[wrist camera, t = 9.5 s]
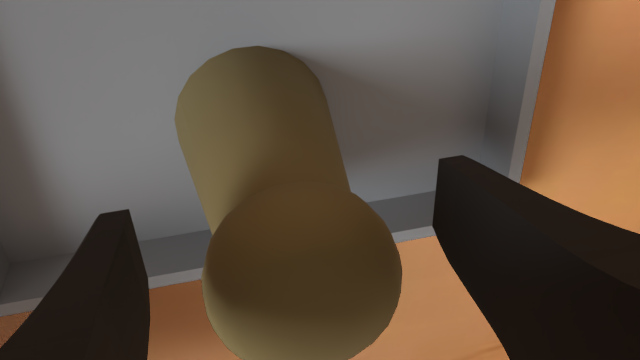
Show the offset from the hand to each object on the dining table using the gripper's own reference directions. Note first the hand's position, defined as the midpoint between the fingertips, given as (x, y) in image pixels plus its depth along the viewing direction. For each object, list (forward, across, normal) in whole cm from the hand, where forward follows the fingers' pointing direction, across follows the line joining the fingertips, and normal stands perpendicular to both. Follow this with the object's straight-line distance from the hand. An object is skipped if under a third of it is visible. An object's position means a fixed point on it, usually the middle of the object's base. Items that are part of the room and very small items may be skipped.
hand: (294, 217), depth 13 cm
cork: (+10, 0, +2) cm, 10 cm away
